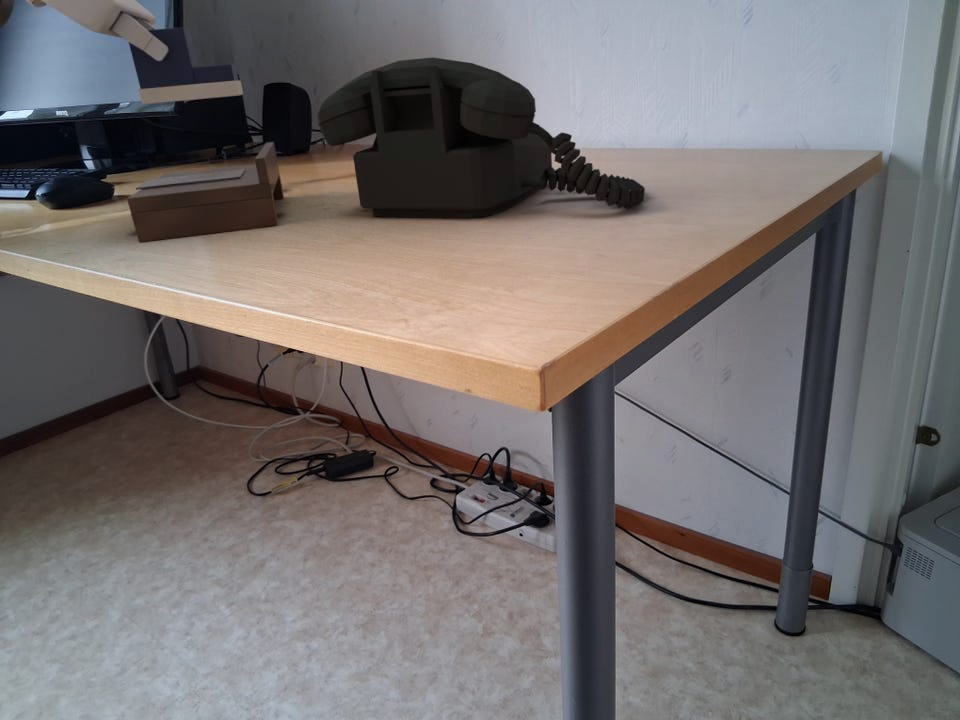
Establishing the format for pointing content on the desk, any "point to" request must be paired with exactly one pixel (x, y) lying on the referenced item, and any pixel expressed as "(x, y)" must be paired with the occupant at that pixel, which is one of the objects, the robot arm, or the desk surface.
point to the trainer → (181, 72)
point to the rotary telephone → (455, 142)
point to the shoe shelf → (208, 200)
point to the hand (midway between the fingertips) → (171, 56)
